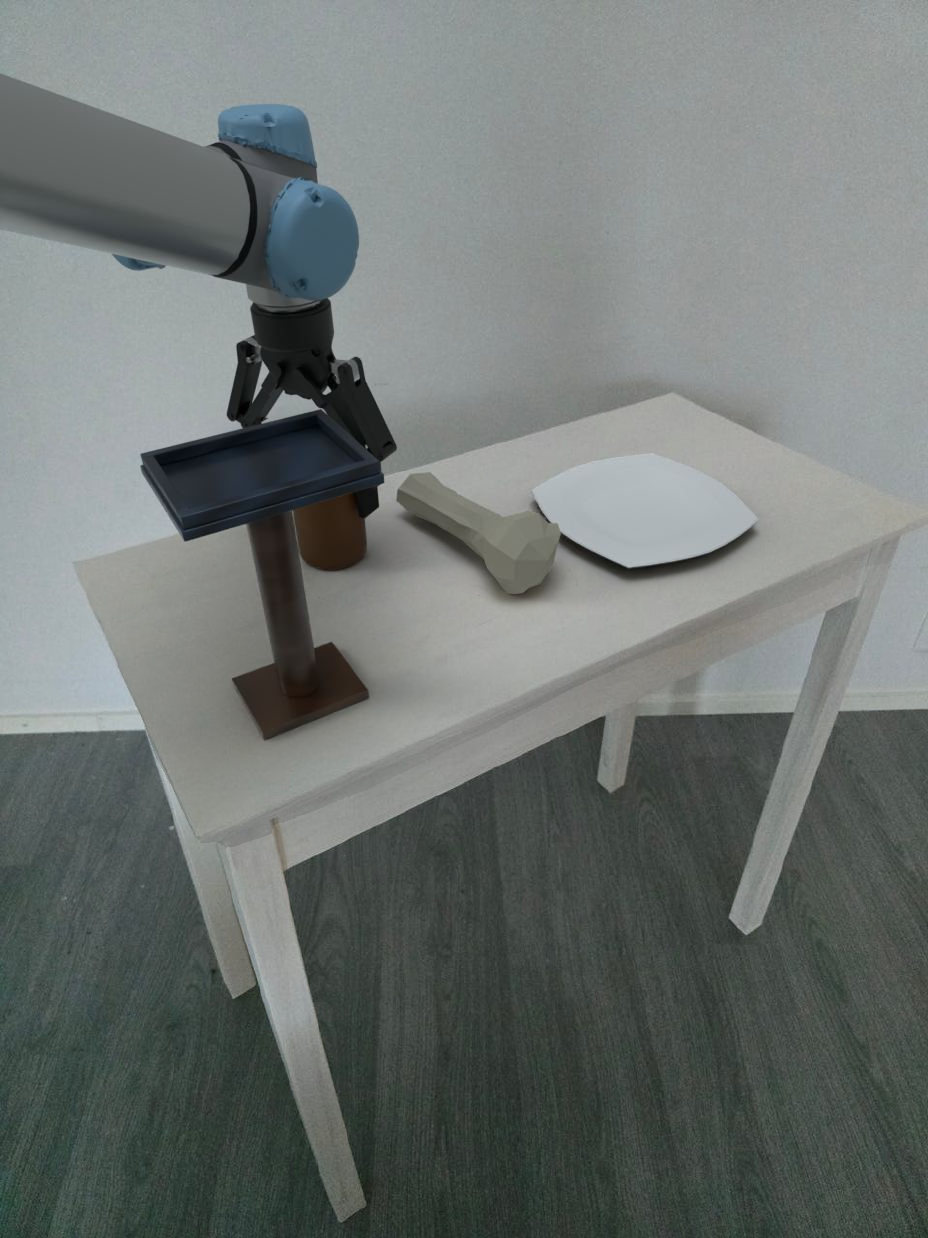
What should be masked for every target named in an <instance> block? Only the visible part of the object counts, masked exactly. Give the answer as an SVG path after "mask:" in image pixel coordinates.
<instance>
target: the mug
mask: <svg viewBox="0 0 928 1238" xmlns="http://www.w3.org/2000/svg"><path fill="white" fill-rule="evenodd" d="M292 513H293V519H294V525H295V532H296V538H297V544H298V551H299V555H300V557H301V558H302V560H303V561H304V562H305V563H307V565H309V566H311V567H314V568H316V569H320V570H333V571H334V570H340V569H344V568H347V567H351V566H352V565H354V564H356V563H359V561H360V560H361V559H363V558H364V556H365V554H366V552H367V548H368V541H367V540H368V538H367V528H366V527H367V526H366V518H365V519H364V518H361V517H359V512H358V503H357V494H356V492H353V493H349V494H346V495H342V496H339V497H336V498H332V499H329V500H325V501H322V502H319V503H315V504H312V505H308V506H305V507H302V508H298V509H295V510H292Z"/></svg>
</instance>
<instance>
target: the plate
mask: <svg viewBox="0 0 928 1238" xmlns="http://www.w3.org/2000/svg"><path fill="white" fill-rule="evenodd" d="M530 493H531V494H532V496H533V498H534V500H535V502H536V504H537V505H538V507H539V509H540V510H541V512H542V514H543V515H544V516H545V517H546V519H547V520H548V523H558V526H559V529H560V531H561V535H563V536H564V537H565V538H567V539H568V540H569V541H571V542H573V543H575V544H576V545H578V546H579V547H582V548H584V549H585V550H587V551H588V552H590V553H593V554H594V555H597V556H599V557H601V558H602V559H603V558H604V559H605V560H608V561H610V562H612V563H614V564H617V565H619V566H620V567H623V568H625V569H628V570H630V569H638V568H647V567H655V566H659V565H666V564H672V563H678V562H683V561H686V560H692V559H695V558H698V557H702V556H706V555H709V554H711V553H713V552H715V551H717V550H719V549H722V548H724V547H726V546H727V545H729V544H731V542H733V541H735V540H736V539H738V538H739V537H740V536H742V535H743V534H745V533H746V532H747V531H749V530H750V529H751V528H752V527H754V526H755V524H757V523H758V522H759V521H760V519H759V517H757V515H755V513H754V512H753V511H752V510H751V509H750V508H749V507H748V506H747V504H746V503H744V501H743V500H741V499H740V497H739V496H738V495H737V494H735V493H734V492H733V491H732V490H730V489H729V488H728V487H727V486H725V484H723V483H721V482H720V481H718V480H717V479H716V478H714V477H712V476H710V475H708V474H706V473H705V472H702V471H701V470H698V469H696V468H693V467H691V466H689V465H686V464H684V463H681V462H678V461H676V460H673V459H671V458H667V457H666V456H662V455H659V454H656V453H654V452H649V453H648V452H647V453H640V454H629V455H622V456H616V457H610V458H604V459H598V460H594V461H589V462H585V463H582V464H579V465H577V466H574V467H571V468H569V469H567V470H565V471H563V472H561V473H558V474H557V475H554V476H552V477H551V478H549V479H548V480H545V481H543V482H542V483H540V484H539V485H537V486H535V487H533V488H532V489H530Z"/></svg>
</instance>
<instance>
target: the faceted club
mask: <svg viewBox="0 0 928 1238" xmlns="http://www.w3.org/2000/svg"><path fill="white" fill-rule="evenodd" d="M396 502H397V503H398V504H399V505H401V506H402V508H403V509H405V510H407V511H408V512H410V513H411V514H412V515H414V516H415V517H417V518H419V519H421V520H424V521H426V522H429V523H430V524H431V523H432V524H434V525H435V526H437V527H439V528H440V529H442V530H444V531H446V532H447V533H449V534H451V535H452V536H454V537H456V538H457V539H459V540H460V541H462V542H463V543H464V544H465V545H466V546H468V547H469V548H470V549H471V550H473V552H475V553H476V554H477V555H478V556H479V557H481V559H483V560H484V562H485V565H486V568H487V570H488V571H489V573H490V574H491V575H492V576H493V578H495V580H496V581H497V582H498V584H499V586H500V587H501V588H502V589H503V590H504V592H505V593H506V594H507V595H517V594H523V593H525V592H526V591H527V590H528V589H530V588H532V587H535V586H538V585H540V584H541V583H542V581H543V580H544V579H545V577H546V576H547V575H548V573H549V572H550V570H551V569H552V567H553V564H554V561H555V558H556V554H557V549H558V546H559V542H560V539H561V535H562V533H561V531H560V529H559V526H558V523H550V522H549V521H547V520H546V519H545V518H544V517H543V516H542V515H541V513H539V512H534V511H523V512H518V513H514V514H510V515H505V516H502V515H500V514H498V513H496V512H494V511H492V510H490V509H488V508H486V507H485V506H483V505H480V504H479V503H476V502H474V501H472V500H471V499H468V498H466V497H465V496H463V495H461V494H459V493H458V492H457V491H456V490H454V489H451V488H449V487H447V486H445V485H444V484H443V483H442V482H441V481H440V480H439V479H438V477H436V476H435V475H434V474H433V473H432V472H431V471H427V472H425V471H424V472H417V473H410V474H409V475H408V476H407V477H406V479H405V480H404V481H403V482H402V483H401V484H400V486H399V487H398V488H397V490H396Z"/></svg>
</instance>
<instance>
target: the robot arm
mask: <svg viewBox="0 0 928 1238" xmlns="http://www.w3.org/2000/svg"><path fill="white" fill-rule="evenodd" d="M217 127H218V134H217V137H218V140H219V141H216V142H213V143H211V144H208V145H205V146H204V145H203V146H202V145H200V144H197V143H195V142H192V141H190V140H186V139H184V138H182V137H181V138H180V137H178V136H175V135H172V134H170V133H167V132H164V131H161V130H159V129H157V128H153V127H151V126H148V125H145V124H142V123H139V122H137V121H133V120H131V119H129V118H125V117H123V116H120V115H117V114H114V113H112V112H109V111H106V110H103V109H100V108H97V107H95V106H92V105H89V104H87V103H84V102H81V101H79V100H75V99H72V98H70V97H67V96H65V95H61V94H59V93H56V92H53V91H51V90H48V89H45V88H42V87H39V86H37V85H34V84H30V83H28V82H26V81H23V80H20V79H18V78H15V77H11V76H9V75H7V74H4V73H1V72H0V230H1V231H7V232H10V233H15V234H20V235H23V236H24V235H25V236H29V237H34V238H37V239H42V240H47V241H52V242H55V243H60V244H66V245H71V246H75V247H79V248H85V249H88V250H92V251H97V252H102V253H106V254H111V255H112V257H113V258H114V259H115V260H116V261H117V262H118V263H119V264H120V265H122V266H123V267H125V268H126V269H129V270H132V271H137V272H138V271H139V272H141V271H145V270H150V269H151V270H152V269H156V268H157V269H160V270H162V269H165V268H166V267H170V268H175V269H178V270H179V269H181V270H184V271H189V272H194V273H198V274H203V275H208V276H212V277H213V278H217V279H221V280H226V281H231V282H235V283H239V284H244V285H245V288H246V294H247V298H248V300H250V301H251V302H252V303H251V305H250V308H249V310H250V316H251V322H252V327H253V328H252V329H253V333H254V334H253V335H250V336H249V337H247V338H244V339H243V340H241V341H238V342H237V343H236V345H235V348H236V349H235V350H236V357H237V364H236V369H235V372H234V373H235V374H234V379H233V381H232V387H231V391H230V396H229V401H228V405H227V410H226V416H227V419H228V420H229V421H230V422H237V423H239V424H240V426H241V429H242V428H246V427H250V426H254V425H259V424H263V423H264V422H265V421H267V420H268V419H269V418H268V417H267V416H268V415H269V414H270V412H271V410H272V409H273V408H274V406H275V404H276V403H277V401H278V399H279V398H280V397H281V395H282V393H283V392H284V394H285V395H288V396H298V397H300V398H302V399H304V400H307V401H310V400H311V401H312V402H313V403H314V405H315V406H316V407H317V408H319V409H322V410H323V411H324V412H325V413H326V414H327V415H328V416H329V417H330V418H332V419H333V420H334V421H335V422H336V423H337V424H338V425H339V426H340V427H342V428H343V429H344V430H345V431H346V432H347V433H348V434H349V435H350V436H352V437H353V438H354V439H355V440H356V441H357V442H358V443H359V444H360V445H362V446H363V447H364V448H365V449H366V450H367V451H368V452H369V453H370V454H372V455H373V456H374V458H376V459H377V460H378V461H379V464H380V471H381V472H382V462H383V461H384V460H386V459H387V458H388V457H390V456H391V455H393V453H395V452H397V450H398V447H397V446H398V445H397V444H396V441H395V438H394V437H393V435H392V433H391V431H390V429H389V426H388V424H387V423H386V420H385V418H384V415H383V414H382V411H381V409H380V407H379V405H378V403H377V401H376V399H375V396H374V395H373V393H372V391H371V389H370V387H369V384H368V382H367V380H366V375H365V369H364V365H363V364H364V363H363V361H362V359H361V358H360V357H359V356H353V357H352V358H350V359H348V360H347V359H337V358H336V356H335V353H334V351H333V341H334V336H335V328H334V317H333V310H332V303H331V302H332V301H331V300H330V299H329V298H331V297H333V296H334V295H337V294H338V293H339V292H340V291H341V290H342V289H343V288H344V287H345V286H346V284H347V283H348V282H349V280H350V278H351V276H352V275H353V273H354V270H355V267H356V263H357V258H358V251H359V248H360V233H359V226H358V221H357V219H356V215H355V213H354V211H353V209H352V207H351V205H350V204H349V202H348V201H347V200H346V199H345V197H344V196H343V195H342V194H341V193H340V192H339V191H337V190H335V189H334V188H332V187H330V186H327V185H324V184H320V183H319V181H318V170H317V169H318V162H317V161H316V156H315V155H316V154H315V150H314V144H313V138H312V137H313V136H312V133H311V129H310V123H309V119H308V117H307V115H306V114H305V112H303V110H301V109H300V108H299V107H296V106H293V105H288V104H282V103H281V104H279V103H254V104H244V105H237V106H232V107H229V108H226V109H223V110H222V111H221V112H220V113H219V114H218V117H217ZM263 364H264V366H265V367H266V368H267V370H268V373H267V375H266V377H265V378H264V379H263V381H262V382H261V385H260V387H261V388H260V390H259V391H258V393H257V395H256V396H255V394H256V389H257V386H258V381H259V378H260V373H261V370H262V365H263ZM327 388H329V390H330V391H329V392H328V393H326V394H324V393H325V391H326V390H327ZM254 397H255V398H254ZM379 486H380V485H376V486H373V487H370V488H366V489H363V490H359V491H356V494H357V503H358V512H359V517H361V518H364V519H365V520H366V519H367V518H368V517H369V516H370V515H371V514H373V513H374V512H376V511H377V510H378V509H379V508H380V499H379V489H378V488H379Z"/></svg>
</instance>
